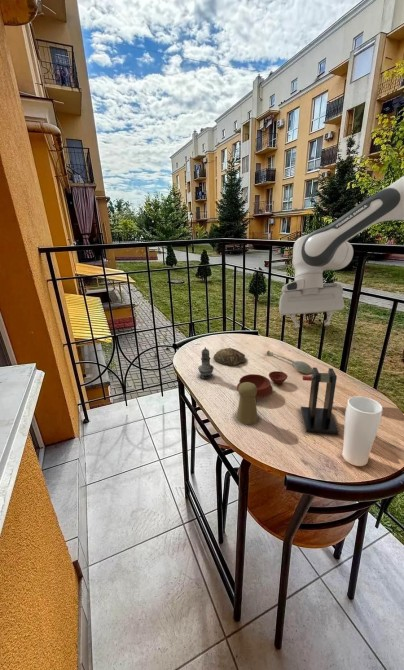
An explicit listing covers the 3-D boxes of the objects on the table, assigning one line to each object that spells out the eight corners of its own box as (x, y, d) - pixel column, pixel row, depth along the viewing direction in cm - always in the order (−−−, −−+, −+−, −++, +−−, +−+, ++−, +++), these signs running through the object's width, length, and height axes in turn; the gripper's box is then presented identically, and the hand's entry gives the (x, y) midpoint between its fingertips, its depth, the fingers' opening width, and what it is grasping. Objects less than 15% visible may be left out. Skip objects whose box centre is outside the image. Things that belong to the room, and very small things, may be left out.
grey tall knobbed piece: (195, 376, 105) (193, 347, 101) (205, 371, 109) (204, 342, 105) (206, 381, 102) (205, 351, 97) (217, 375, 106) (216, 346, 101)
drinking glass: (376, 460, 65) (389, 405, 60) (361, 475, 61) (373, 418, 56) (348, 444, 70) (357, 392, 65) (332, 456, 66) (341, 402, 61)
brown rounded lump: (209, 359, 119) (209, 348, 117) (229, 350, 127) (229, 340, 125) (231, 369, 110) (231, 357, 108) (251, 359, 118) (252, 348, 116)
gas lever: (302, 381, 88) (302, 374, 89) (322, 383, 87) (322, 375, 88) (312, 381, 73) (312, 372, 73) (337, 383, 72) (337, 373, 72)
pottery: (229, 391, 95) (229, 379, 94) (271, 374, 105) (272, 363, 104) (253, 407, 86) (253, 395, 84) (297, 387, 96) (298, 375, 94)
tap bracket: (300, 410, 84) (305, 362, 78) (329, 412, 82) (336, 363, 77) (305, 432, 75) (311, 380, 69) (338, 435, 73) (346, 382, 68)
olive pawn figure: (236, 410, 85) (237, 378, 81) (257, 411, 84) (258, 379, 80) (236, 423, 79) (236, 390, 75) (258, 425, 78) (259, 390, 74)
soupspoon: (303, 377, 103) (315, 373, 106) (305, 369, 102) (316, 365, 105) (262, 355, 121) (273, 352, 124) (263, 348, 119) (274, 345, 123)
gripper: (339, 284, 94) (342, 325, 94) (276, 290, 98) (279, 329, 97) (345, 280, 88) (349, 323, 88) (278, 286, 92) (281, 328, 91)
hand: (312, 326), depth 93 cm, fingers open, 8 cm apart
